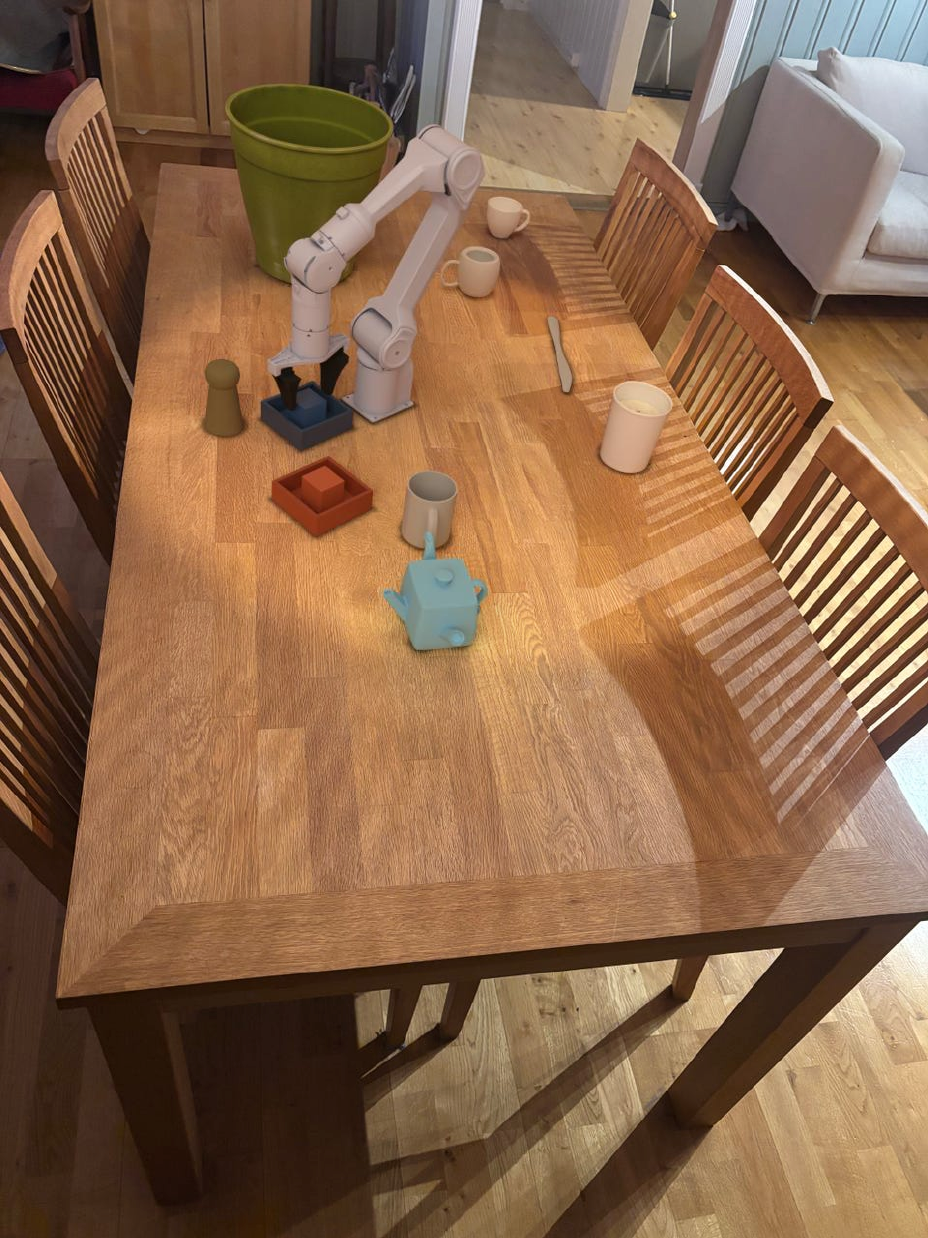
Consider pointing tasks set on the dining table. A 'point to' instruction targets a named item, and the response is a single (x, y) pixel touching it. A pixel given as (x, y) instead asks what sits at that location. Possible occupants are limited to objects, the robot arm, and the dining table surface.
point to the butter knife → (560, 355)
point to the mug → (475, 271)
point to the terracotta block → (322, 489)
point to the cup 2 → (505, 216)
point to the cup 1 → (428, 507)
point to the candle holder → (634, 425)
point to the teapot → (438, 601)
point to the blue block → (308, 409)
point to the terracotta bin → (353, 504)
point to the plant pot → (302, 161)
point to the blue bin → (335, 424)
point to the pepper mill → (223, 398)
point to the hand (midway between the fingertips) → (308, 399)
